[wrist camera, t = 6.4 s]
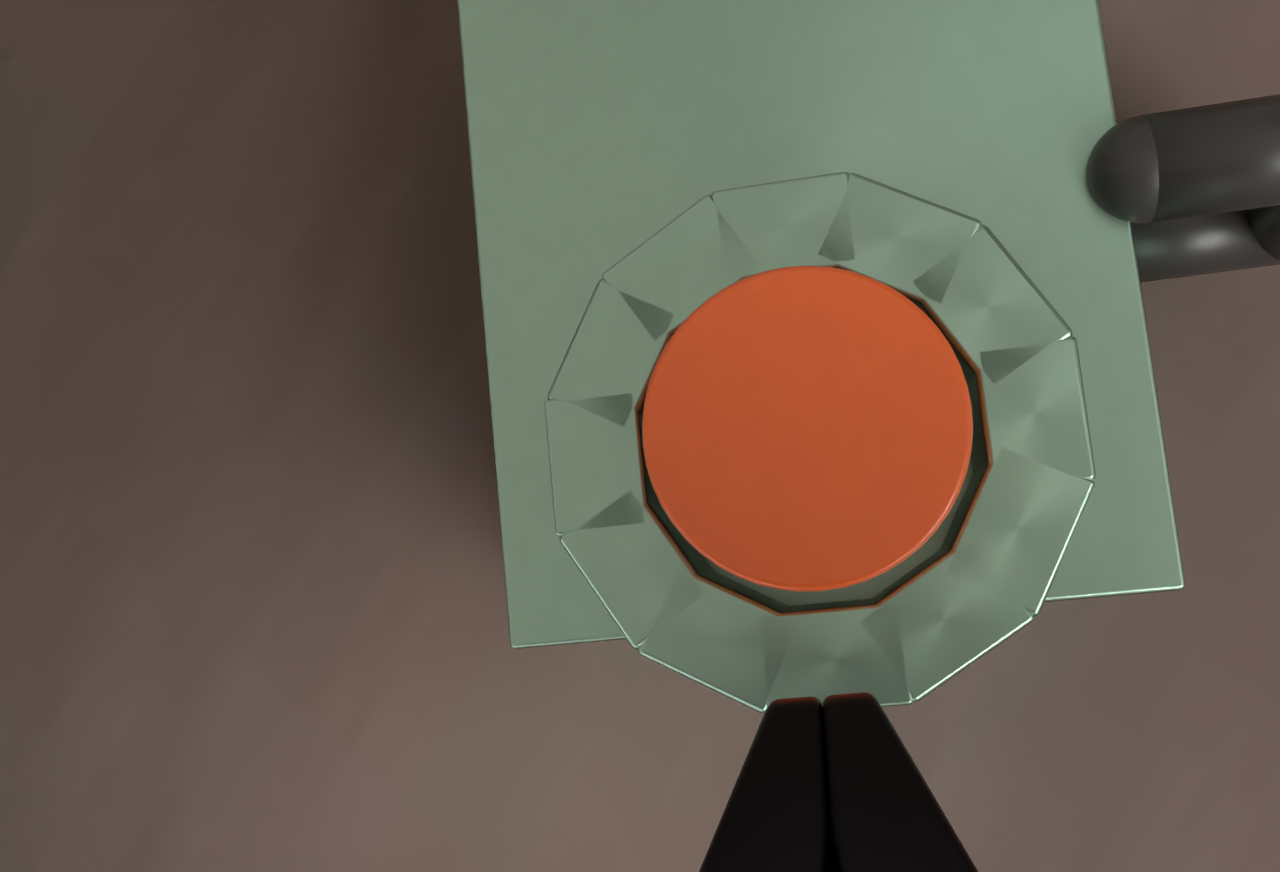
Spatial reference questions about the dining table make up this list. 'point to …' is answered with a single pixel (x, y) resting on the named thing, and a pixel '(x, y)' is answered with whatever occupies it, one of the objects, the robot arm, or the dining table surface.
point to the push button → (807, 428)
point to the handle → (1195, 186)
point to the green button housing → (815, 236)
